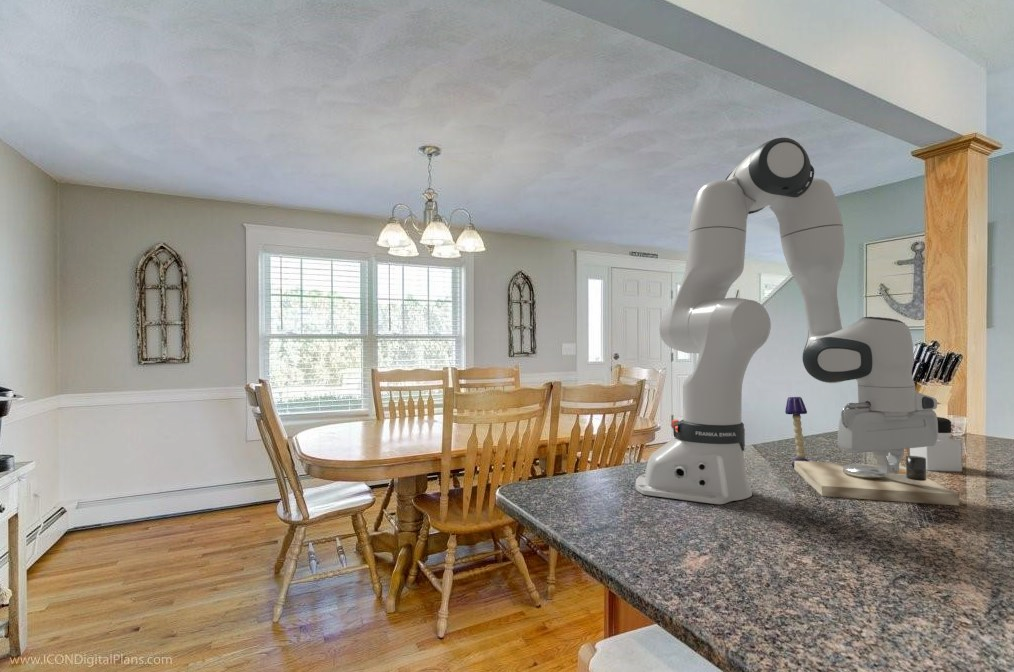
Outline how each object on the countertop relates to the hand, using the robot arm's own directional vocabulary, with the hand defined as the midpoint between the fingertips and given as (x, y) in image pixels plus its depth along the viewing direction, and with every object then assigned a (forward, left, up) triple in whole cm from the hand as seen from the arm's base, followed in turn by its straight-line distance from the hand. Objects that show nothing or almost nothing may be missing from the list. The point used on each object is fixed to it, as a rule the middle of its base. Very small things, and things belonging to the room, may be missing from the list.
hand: (888, 472), depth 97 cm
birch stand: (-1, +9, -5) cm, 11 cm away
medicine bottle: (+20, +30, -5) cm, 37 cm away
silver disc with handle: (+1, +7, -3) cm, 8 cm away
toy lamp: (-10, +23, -5) cm, 26 cm away
